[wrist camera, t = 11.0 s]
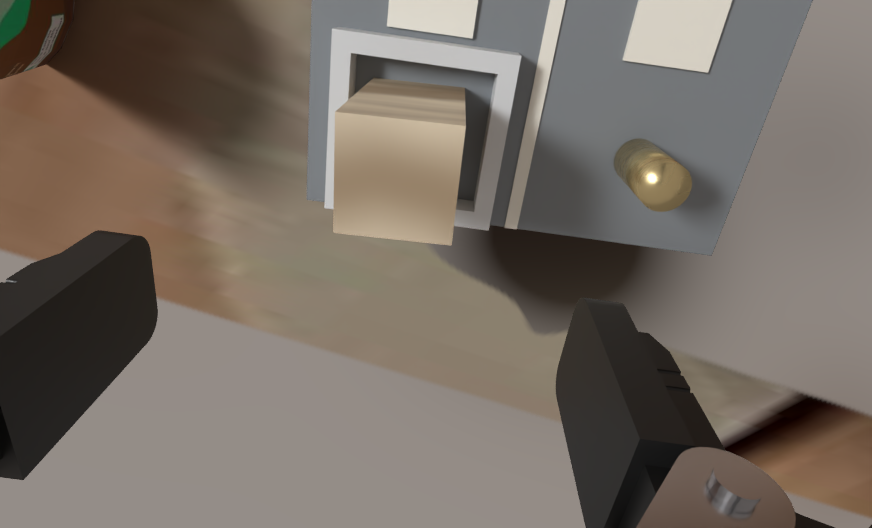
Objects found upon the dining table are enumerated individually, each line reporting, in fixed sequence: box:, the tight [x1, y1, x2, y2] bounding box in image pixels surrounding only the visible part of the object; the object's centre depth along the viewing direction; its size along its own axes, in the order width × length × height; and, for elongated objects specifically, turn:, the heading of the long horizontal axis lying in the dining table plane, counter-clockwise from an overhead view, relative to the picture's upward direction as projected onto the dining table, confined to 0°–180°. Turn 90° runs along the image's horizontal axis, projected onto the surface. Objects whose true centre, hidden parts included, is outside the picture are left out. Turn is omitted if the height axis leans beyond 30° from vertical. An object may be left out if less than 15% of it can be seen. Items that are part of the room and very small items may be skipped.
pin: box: [614, 138, 692, 212], centre depth 23 cm, size 2×2×4 cm
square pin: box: [333, 78, 466, 245], centre depth 21 cm, size 4×4×8 cm
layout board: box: [307, 0, 813, 256], centre depth 23 cm, size 13×20×2 cm, turn 83°
